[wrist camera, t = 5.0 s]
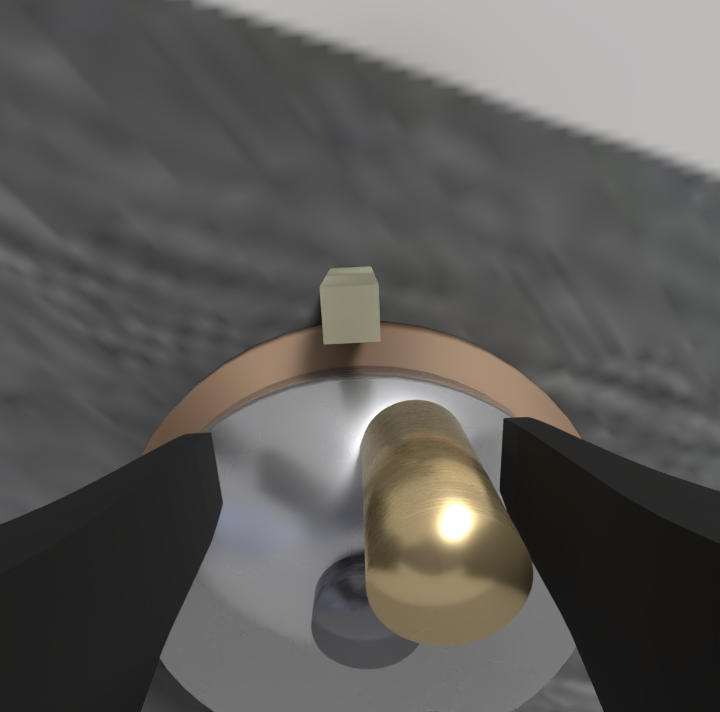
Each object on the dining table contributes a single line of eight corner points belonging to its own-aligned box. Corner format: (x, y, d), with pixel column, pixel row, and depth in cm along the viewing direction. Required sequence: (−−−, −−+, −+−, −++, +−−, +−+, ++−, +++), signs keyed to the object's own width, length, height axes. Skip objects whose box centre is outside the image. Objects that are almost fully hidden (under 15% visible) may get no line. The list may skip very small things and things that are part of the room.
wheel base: (181, 708, 18) (133, 841, 14) (77, 281, 12) (-45, 305, 9) (566, 689, 18) (625, 818, 14) (623, 253, 12) (744, 266, 9)
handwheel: (497, 741, 17) (568, 994, 11) (133, 684, 15) (12, 935, 10) (651, 422, 13) (877, 572, 7) (176, 315, 11) (15, 396, 6)
